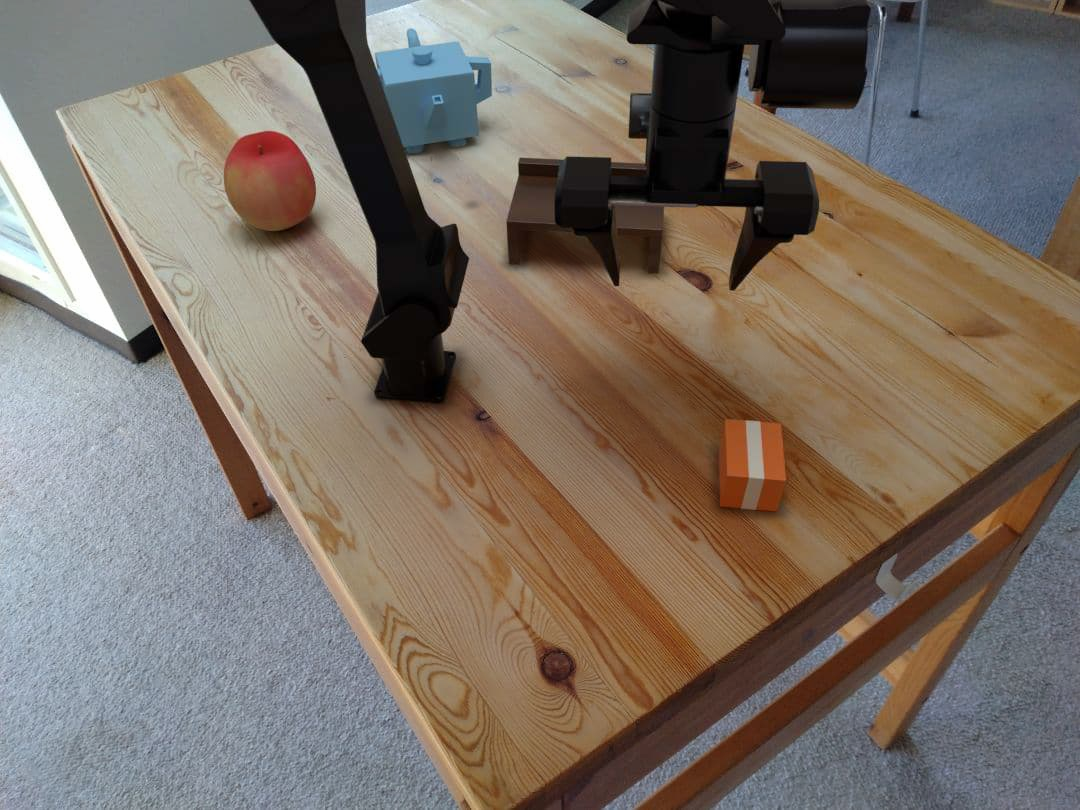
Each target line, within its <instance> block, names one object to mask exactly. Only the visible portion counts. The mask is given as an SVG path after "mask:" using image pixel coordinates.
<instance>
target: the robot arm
mask: <svg viewBox="0 0 1080 810" xmlns="http://www.w3.org/2000/svg"><path fill="white" fill-rule="evenodd" d="M248 1H249V3H250V4H251V6H252V8H253V9H254V11H255V13H256V14H257V16H258V18H259V20H260V21H261V23H262V24H263V26H264V28H265V29H266V32H267V33H268V34H269V35H270V37H271V39H272V40H273V42H275V44H276V45H278V46H279V48H281V49H282V50H283V51H284V52H285V53H286V54H287V55H288V56H290V58H291V59H292V60H294V61H295V62H296V63H297V64H298V65H299V66H300V67H301V68H302V69H303V71H304V73H305V74H306V76H307V78H308V81H309V84H310V86H311V89H312V90H313V93H314V95H315V98H316V101H317V103H318V106H319V108H320V110H321V113H322V115H323V118H324V120H325V122H326V125H327V128H328V130H329V133H330V135H331V138H332V140H333V142H334V145H335V148H336V151H337V152H338V155H339V157H340V160H341V162H342V164H343V167H344V169H345V172H346V175H347V177H348V179H349V181H350V184H351V187H352V189H353V192H354V194H355V196H356V199H357V201H358V204H359V206H360V209H361V211H362V213H363V216H364V218H365V221H366V223H367V225H368V228H369V230H370V233H371V236H372V238H373V240H374V244H375V257H376V258H375V261H376V262H375V264H376V265H375V266H376V286H377V295H376V297H375V300H374V303H373V306H372V308H371V311H370V315H369V317H368V320H367V323H366V325H365V329H364V331H363V334H362V336H361V339H360V343H361V345H362V346H363V347H364V349H365V350H366V351H367V353H368V355H369V356H370V357H371V358H372V359H380V360H381V364H382V369H381V371H380V374H379V377H378V380H377V382H376V385H375V388H374V391H373V394H374V397H375V399H380V400H392V401H403V402H404V401H405V402H418V403H427V404H428V403H430V404H442V403H443V402H444V401H445V400H446V396H447V393H448V390H449V386H450V382H451V379H452V375H453V371H454V367H455V365H456V360H457V354H456V352H455V351H452V350H445V349H444V341H443V333H445V332H446V331H447V330H448V329H449V327H451V325H452V321H453V318H454V314H455V310H456V309H457V308H458V305H459V302H460V301H459V300H460V298H461V293H462V288H463V285H464V282H465V277H466V274H467V270H468V265H469V261H470V257H469V256H468V255H467V254H466V252H465V251H464V249H463V247H462V245H461V242H460V235H459V228H458V226H457V224H456V223H451V224H447V225H444V226H440V225H439V224H438V223H437V222H436V221H435V220H434V219H432V218H431V216H430V215H429V214H428V212H427V210H426V207H425V205H424V203H423V199H422V196H421V194H420V190H419V187H418V185H417V181H416V178H415V176H414V173H413V170H412V168H411V164H410V162H409V158H408V156H407V154H406V153H407V152H406V149H405V147H403V144H402V141H401V138H400V135H399V133H398V130H397V127H396V124H395V121H394V118H393V115H392V112H391V110H390V107H389V104H388V101H387V98H386V95H385V92H384V89H383V86H382V84H381V81H380V78H379V75H378V72H377V65H376V62H375V61H374V58H373V54H372V53H371V49H370V46H369V42H368V35H367V14H366V13H367V10H366V9H367V8H366V0H248ZM871 12H872V8H871V4H870V2H869V0H644V1H643V2H642V3H641V4H640V5H638V6H636V7H635V8H634V9H633V10H632V11H630V12H629V13H628V14H627V22H626V41H627V42H628V44H630V45H654V47H653V48H654V49H653V62H652V63H653V64H652V75H651V77H652V79H651V92H650V93H649V92H648V93H647V92H630V95H629V112H628V113H629V116H628V138H629V140H630V139H631V140H632V139H633V140H634V139H635V140H640V139H641V140H646V142H645V154H644V155H645V156H644V157H645V158H644V164H645V166H646V177H614V176H611V162H612V157H608V156H607V157H606V156H569V155H568V156H566V157H564V158H563V159H562V160H563V161H562V162H561V163H560V164H559V170H558V176H557V183H556V189H555V203H554V208H555V223H556V224H557V225H559V226H560V227H562V228H573V233H572V234H573V235H574V236H576V237H579V238H581V237H583V238H586V240H587V241H588V243H589V244H590V245H591V247H592V248H593V249H594V251H595V252H596V254H597V255H598V257H599V258H600V260H601V262H602V264H603V266H604V268H605V270H606V272H607V275H608V277H609V279H610V280H611V282H612V284H613V287H620V278H621V255H620V247H619V237H618V236H619V235H617V225H616V213H615V205H621V206H656V207H664V208H692V209H693V208H698V207H720V208H722V207H723V208H725V207H726V208H745V212H744V218H743V222H742V226H741V231H740V234H739V237H738V241H737V244H736V247H735V251H734V253H733V259H732V261H731V265H730V271H729V277H728V290H729V291H731V292H732V291H733V292H735V291H736V289H737V288H738V287H739V286H740V285H741V284H742V282H743V281H744V280H745V279H746V278H747V276H748V275H749V274H750V273H751V272H752V271H753V269H755V267H756V266H757V265H758V263H760V262H761V260H763V259H764V258H765V257H767V255H768V254H770V253H771V252H772V251H773V250H774V249H775V248H776V247H777V246H778V245H780V244H789V243H792V242H793V241H794V239H795V238H794V237H795V236H808V235H810V234H811V233H813V232H815V229H816V224H817V221H818V217H819V212H820V197H819V192H818V188H817V184H816V179H815V175H814V171H813V169H812V168H811V167H810V166H809V164H808V162H807V161H781V160H780V161H778V160H759V161H758V163H757V164H756V168H755V174H754V178H726V177H727V171H728V163H729V157H730V149H731V143H732V135H733V130H734V122H735V116H736V109H737V99H738V95H739V94H738V93H739V86H740V80H741V73H742V66H743V60H744V59H743V58H744V53H745V46H750V53H749V60H748V74H747V75H748V77H747V80H748V81H747V83H748V91H749V92H753V93H757V92H759V91H760V99H759V103H760V105H763V106H764V108H765V109H814V110H817V109H818V110H854V109H855V108H856V107H857V105H858V104H859V102H860V99H861V97H862V94H863V92H864V89H865V86H866V82H867V81H866V80H867V77H868V69H867V66H866V63H867V56H868V46H869V45H868V42H869V29H868V25H869V21H870V16H871Z"/></svg>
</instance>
